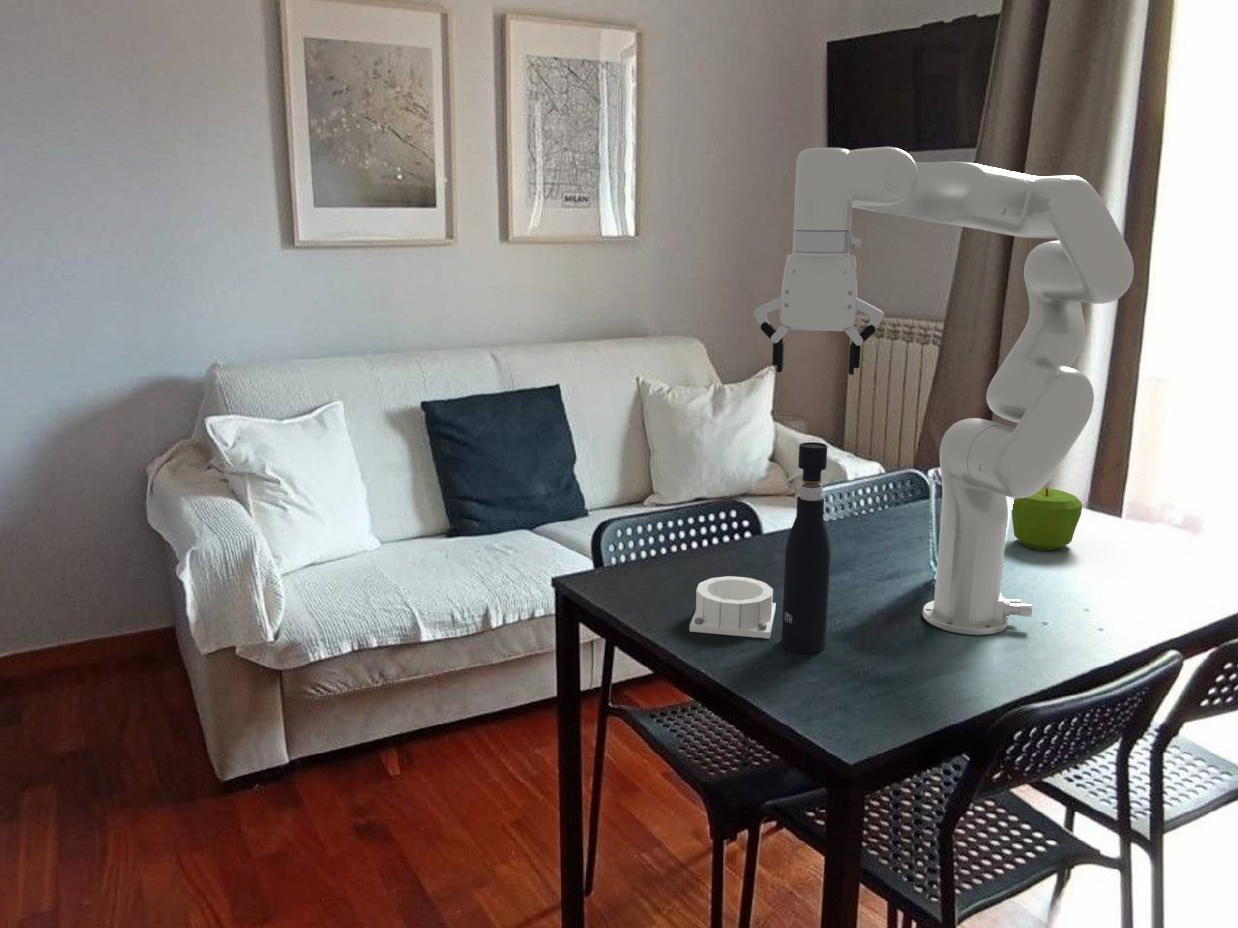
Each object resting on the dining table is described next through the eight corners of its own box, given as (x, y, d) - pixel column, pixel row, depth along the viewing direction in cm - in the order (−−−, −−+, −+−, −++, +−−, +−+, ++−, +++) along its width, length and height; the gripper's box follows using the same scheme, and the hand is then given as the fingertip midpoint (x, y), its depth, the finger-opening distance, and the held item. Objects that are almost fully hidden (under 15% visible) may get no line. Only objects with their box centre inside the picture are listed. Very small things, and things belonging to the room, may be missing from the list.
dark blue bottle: (830, 640, 152) (841, 442, 145) (819, 656, 147) (830, 452, 139) (788, 632, 155) (797, 438, 148) (775, 648, 149) (784, 447, 142)
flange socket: (775, 608, 164) (776, 579, 163) (769, 638, 153) (770, 607, 152) (700, 602, 167) (701, 573, 166) (689, 631, 155) (690, 600, 154)
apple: (1088, 556, 190) (1095, 497, 187) (1021, 555, 190) (1027, 496, 187) (1060, 535, 202) (1066, 479, 199) (998, 534, 202) (1003, 479, 199)
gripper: (887, 244, 139) (879, 370, 143) (759, 243, 143) (755, 366, 147) (889, 246, 132) (880, 379, 136) (753, 245, 136) (749, 374, 140)
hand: (815, 372), depth 141 cm, fingers open, 9 cm apart
